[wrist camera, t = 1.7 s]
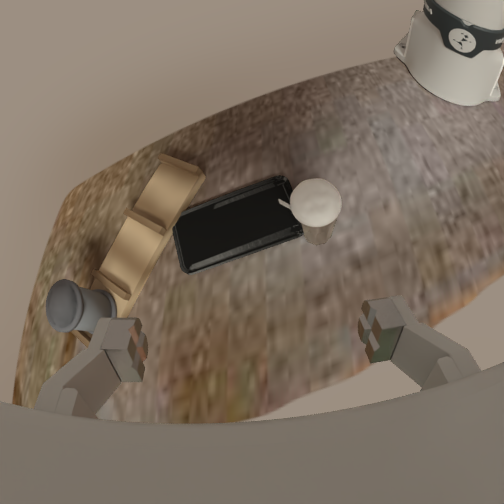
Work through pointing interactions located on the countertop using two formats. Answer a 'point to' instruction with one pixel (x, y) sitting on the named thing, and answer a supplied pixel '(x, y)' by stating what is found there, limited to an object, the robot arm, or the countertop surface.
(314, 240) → the milkshake
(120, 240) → the organizer
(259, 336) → the countertop surface
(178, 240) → the phone
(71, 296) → the spool
